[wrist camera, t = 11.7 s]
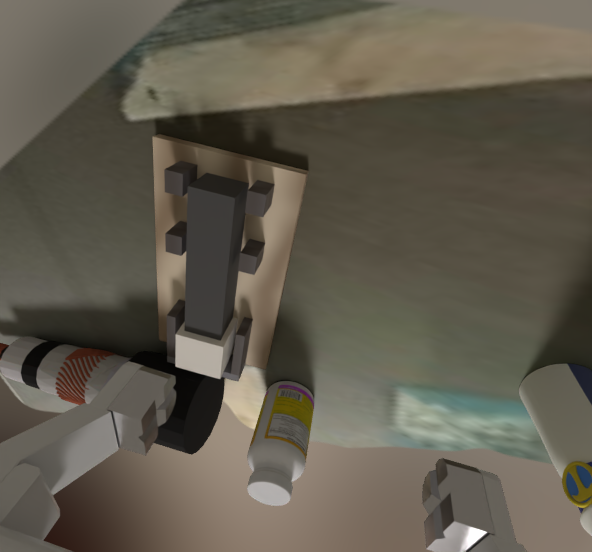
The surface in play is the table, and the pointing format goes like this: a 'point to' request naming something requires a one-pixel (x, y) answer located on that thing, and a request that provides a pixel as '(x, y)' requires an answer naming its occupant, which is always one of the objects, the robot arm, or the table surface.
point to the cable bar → (211, 273)
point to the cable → (100, 369)
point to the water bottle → (565, 427)
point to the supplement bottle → (280, 442)
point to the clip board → (255, 244)
